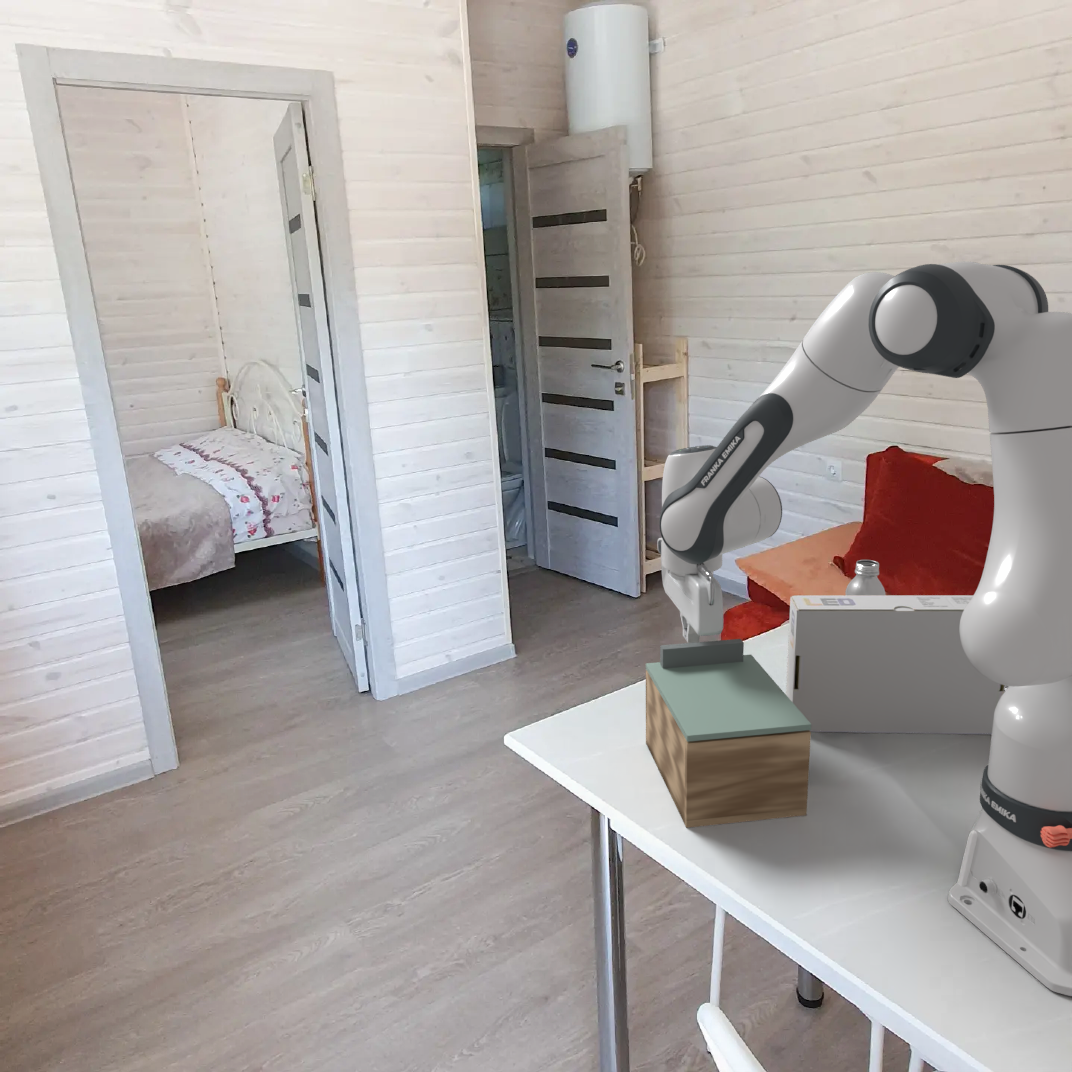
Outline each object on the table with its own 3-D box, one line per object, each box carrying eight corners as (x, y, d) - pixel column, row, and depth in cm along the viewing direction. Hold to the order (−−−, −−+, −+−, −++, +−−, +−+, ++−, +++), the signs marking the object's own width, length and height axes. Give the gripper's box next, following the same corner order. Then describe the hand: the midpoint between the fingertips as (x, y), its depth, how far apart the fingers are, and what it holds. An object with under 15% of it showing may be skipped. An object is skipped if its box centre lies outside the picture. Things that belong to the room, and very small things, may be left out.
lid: (811, 729, 116) (812, 702, 114) (687, 741, 114) (687, 713, 113) (750, 659, 137) (751, 635, 135) (645, 668, 135) (645, 644, 134)
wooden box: (806, 815, 119) (810, 732, 116) (686, 827, 117) (687, 743, 114) (748, 733, 140) (750, 661, 137) (645, 743, 138) (645, 670, 135)
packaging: (984, 716, 143) (998, 595, 137) (999, 735, 137) (1014, 610, 131) (785, 713, 146) (790, 595, 140) (791, 732, 140) (797, 609, 134)
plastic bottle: (855, 683, 155) (862, 571, 149) (832, 667, 161) (839, 559, 156) (888, 677, 157) (897, 566, 151) (864, 662, 163) (872, 555, 157)
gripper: (735, 574, 126) (733, 667, 130) (693, 534, 145) (692, 615, 149) (690, 577, 125) (690, 670, 129) (654, 536, 145) (654, 618, 149)
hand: (691, 640), depth 139 cm, fingers closed
